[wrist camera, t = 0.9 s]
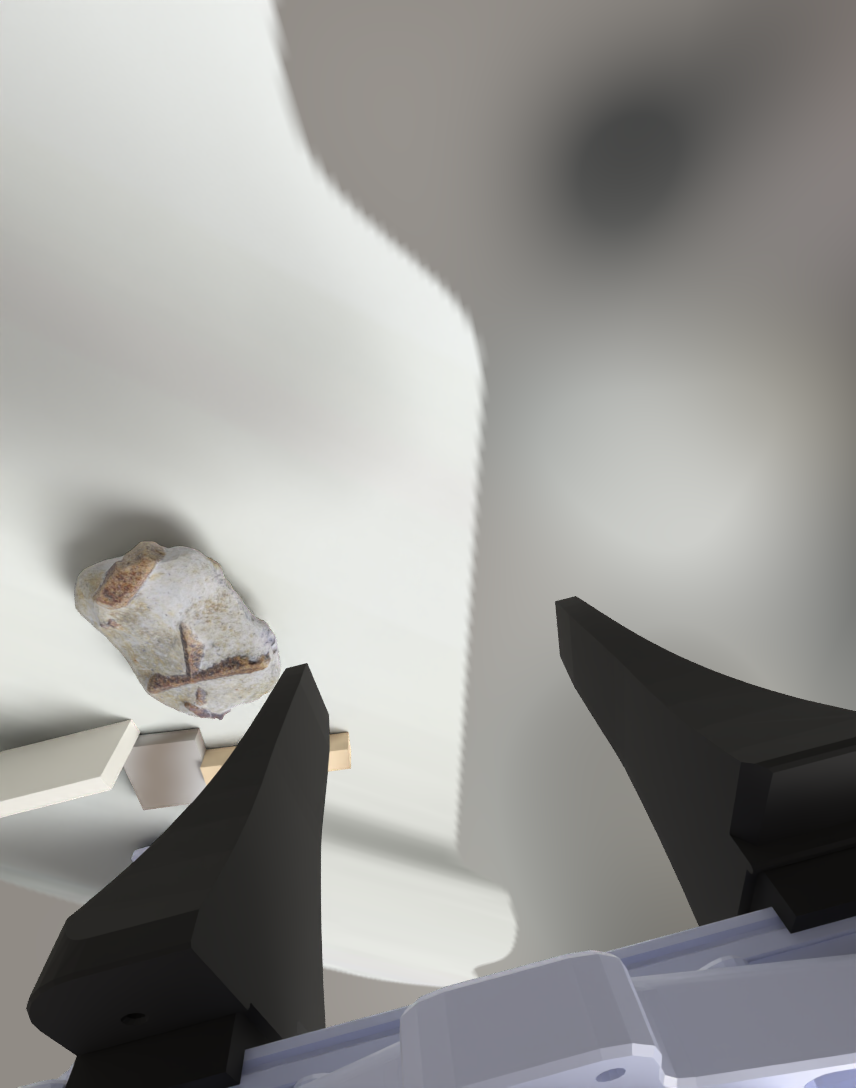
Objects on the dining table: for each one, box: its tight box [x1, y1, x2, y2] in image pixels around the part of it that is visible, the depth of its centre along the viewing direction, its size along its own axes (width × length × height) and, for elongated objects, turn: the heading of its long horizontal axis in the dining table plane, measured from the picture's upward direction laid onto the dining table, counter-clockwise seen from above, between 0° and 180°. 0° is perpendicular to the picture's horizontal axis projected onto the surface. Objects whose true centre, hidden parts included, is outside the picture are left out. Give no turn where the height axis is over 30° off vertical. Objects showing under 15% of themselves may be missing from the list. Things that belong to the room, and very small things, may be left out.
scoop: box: [123, 728, 351, 810], centre depth 27 cm, size 12×5×1 cm, turn 91°
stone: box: [74, 541, 281, 720], centre depth 22 cm, size 10×7×3 cm
